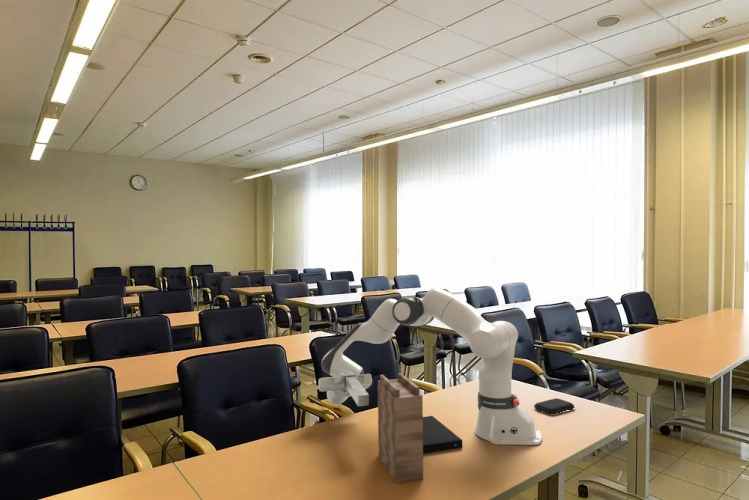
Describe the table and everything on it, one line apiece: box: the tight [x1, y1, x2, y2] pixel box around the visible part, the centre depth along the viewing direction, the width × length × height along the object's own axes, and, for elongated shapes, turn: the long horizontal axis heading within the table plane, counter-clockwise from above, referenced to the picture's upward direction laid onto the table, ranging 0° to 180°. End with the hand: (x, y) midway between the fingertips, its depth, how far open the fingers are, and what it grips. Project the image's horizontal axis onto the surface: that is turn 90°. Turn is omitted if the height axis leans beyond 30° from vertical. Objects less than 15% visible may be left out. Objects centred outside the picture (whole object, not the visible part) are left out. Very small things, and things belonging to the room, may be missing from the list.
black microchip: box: [533, 398, 575, 415], centre depth 190 cm, size 11×3×15 cm
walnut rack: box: [377, 372, 424, 485], centre depth 141 cm, size 18×8×26 cm, turn 16°
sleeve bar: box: [341, 371, 370, 407], centre depth 163 cm, size 26×4×4 cm, turn 16°
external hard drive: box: [423, 415, 463, 455], centre depth 164 cm, size 14×23×3 cm, turn 18°
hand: (348, 376), depth 172 cm, fingers open, 4 cm apart
